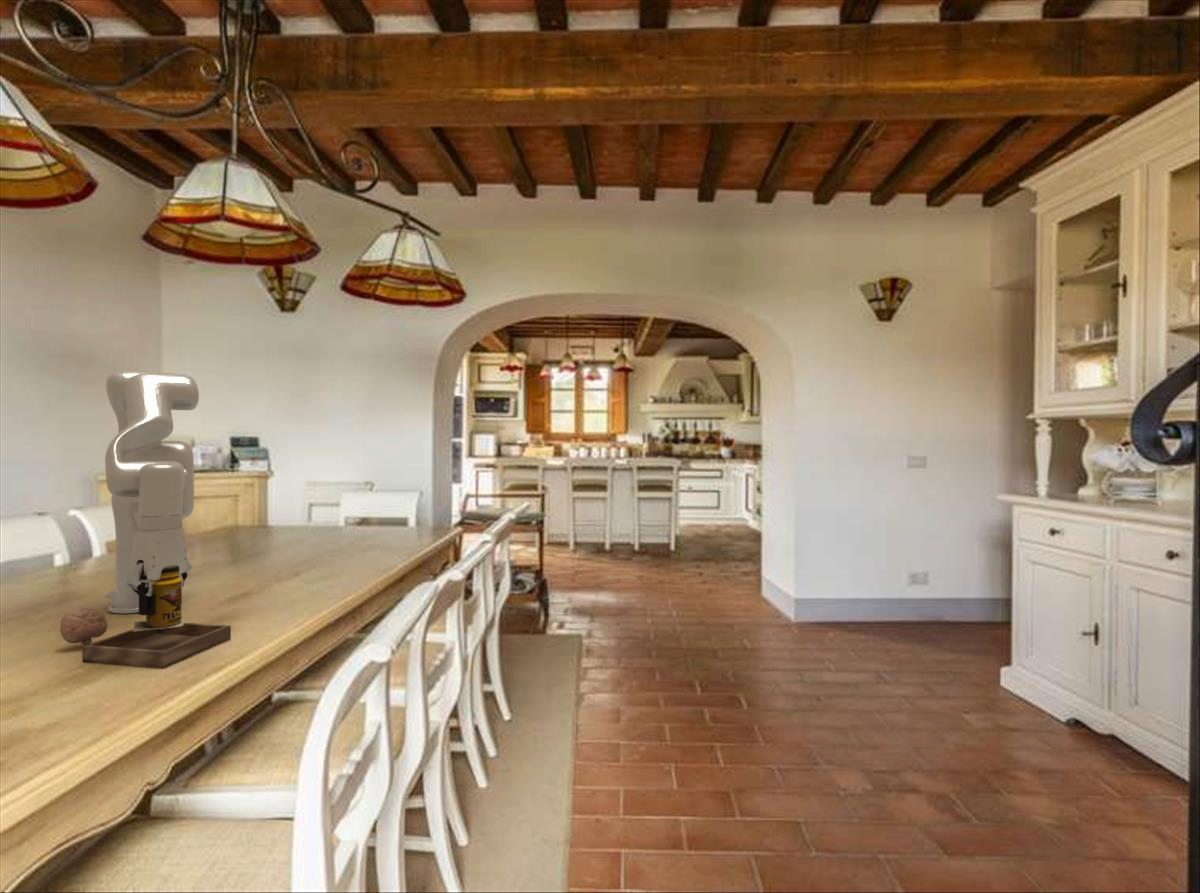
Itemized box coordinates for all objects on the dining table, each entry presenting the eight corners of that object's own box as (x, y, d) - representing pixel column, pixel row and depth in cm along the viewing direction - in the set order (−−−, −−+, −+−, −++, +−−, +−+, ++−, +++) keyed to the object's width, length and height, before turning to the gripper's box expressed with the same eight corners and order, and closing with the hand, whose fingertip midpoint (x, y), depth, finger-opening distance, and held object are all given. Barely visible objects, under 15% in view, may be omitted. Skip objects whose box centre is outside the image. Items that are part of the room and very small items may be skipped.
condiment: (183, 626, 134) (183, 568, 134) (132, 632, 130) (132, 572, 130) (183, 617, 140) (183, 562, 140) (134, 623, 136) (134, 565, 136)
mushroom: (110, 639, 142) (110, 602, 142) (103, 648, 136) (103, 609, 136) (65, 644, 138) (65, 606, 138) (57, 653, 133) (57, 613, 133)
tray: (82, 661, 128) (82, 646, 128) (157, 634, 146) (157, 620, 146) (164, 668, 125) (164, 652, 125) (230, 639, 143) (230, 625, 143)
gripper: (177, 517, 144) (177, 599, 145) (107, 528, 127) (107, 621, 128) (208, 519, 143) (208, 601, 143) (141, 530, 126) (141, 623, 126)
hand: (160, 609), depth 135 cm, fingers closed on condiment, 6 cm apart
